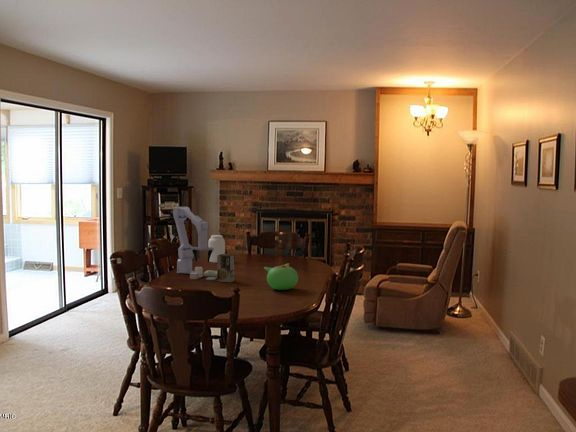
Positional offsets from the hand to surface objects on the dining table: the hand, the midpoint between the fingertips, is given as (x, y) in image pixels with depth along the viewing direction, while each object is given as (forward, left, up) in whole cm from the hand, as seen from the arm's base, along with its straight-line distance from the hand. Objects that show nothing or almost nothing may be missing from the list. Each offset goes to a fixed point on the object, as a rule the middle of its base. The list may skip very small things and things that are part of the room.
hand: (202, 261), depth 322 cm
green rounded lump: (+55, -27, -10) cm, 62 cm away
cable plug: (-3, -8, -10) cm, 13 cm away
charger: (-2, -2, -10) cm, 10 cm away
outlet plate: (+6, +6, -9) cm, 13 cm away
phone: (+8, -8, -10) cm, 15 cm away
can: (-7, +59, -10) cm, 61 cm away
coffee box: (+18, -11, -10) cm, 23 cm away
